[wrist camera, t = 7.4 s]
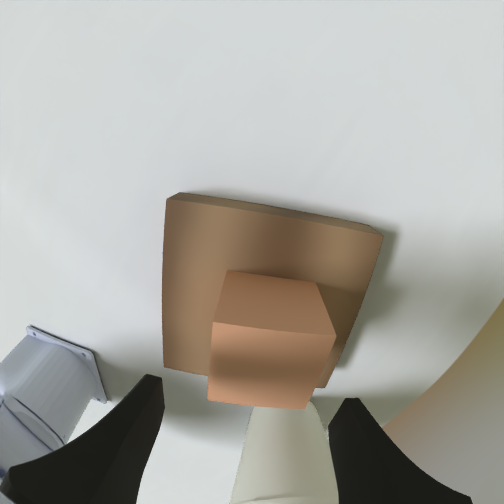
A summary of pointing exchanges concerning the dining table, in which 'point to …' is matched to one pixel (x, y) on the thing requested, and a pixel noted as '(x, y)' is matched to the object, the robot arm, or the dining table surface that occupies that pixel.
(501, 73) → the dining table surface
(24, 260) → the dining table surface
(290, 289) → the terracotta block
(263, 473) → the foam cup
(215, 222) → the walnut plinth
